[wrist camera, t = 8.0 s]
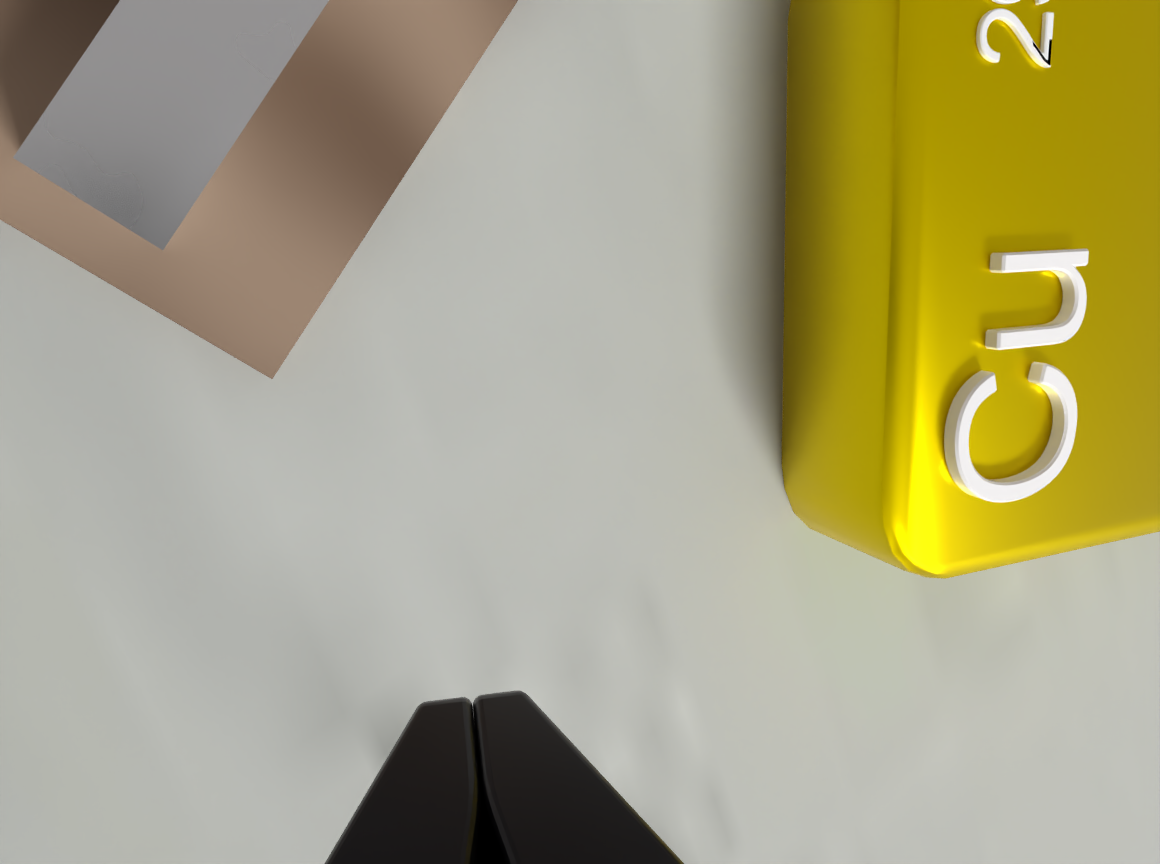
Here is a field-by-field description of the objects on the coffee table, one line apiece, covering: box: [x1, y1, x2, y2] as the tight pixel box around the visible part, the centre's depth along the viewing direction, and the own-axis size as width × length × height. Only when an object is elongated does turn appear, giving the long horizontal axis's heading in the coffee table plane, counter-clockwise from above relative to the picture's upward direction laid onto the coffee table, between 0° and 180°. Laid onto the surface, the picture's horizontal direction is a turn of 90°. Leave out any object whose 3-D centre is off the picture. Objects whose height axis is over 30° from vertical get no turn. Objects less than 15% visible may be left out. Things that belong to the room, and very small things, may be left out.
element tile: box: [782, 0, 1160, 578], centre depth 24 cm, size 15×15×5 cm
